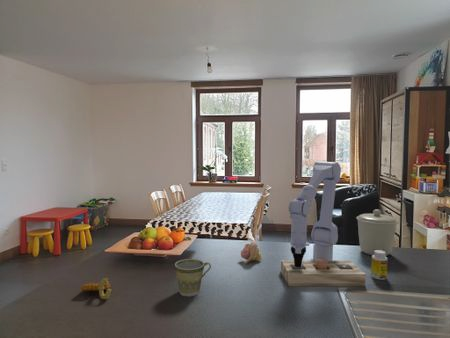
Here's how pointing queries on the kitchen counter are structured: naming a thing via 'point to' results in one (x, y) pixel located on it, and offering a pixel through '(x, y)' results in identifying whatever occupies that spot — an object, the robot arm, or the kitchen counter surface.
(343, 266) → the knob
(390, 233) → the canister
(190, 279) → the ceramic cup
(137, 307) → the kitchen counter surface
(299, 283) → the mount
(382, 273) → the supplement bottle
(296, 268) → the knob
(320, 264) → the knob middle
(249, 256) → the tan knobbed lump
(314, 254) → the robot arm
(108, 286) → the ornament
